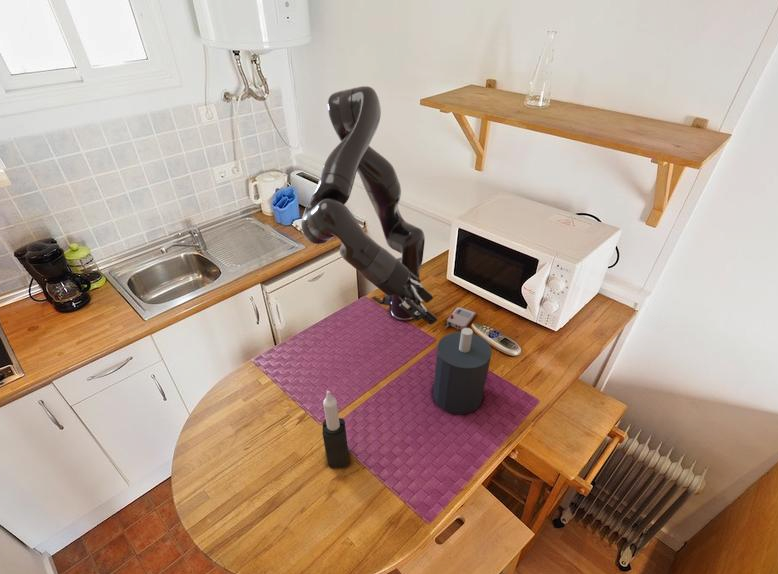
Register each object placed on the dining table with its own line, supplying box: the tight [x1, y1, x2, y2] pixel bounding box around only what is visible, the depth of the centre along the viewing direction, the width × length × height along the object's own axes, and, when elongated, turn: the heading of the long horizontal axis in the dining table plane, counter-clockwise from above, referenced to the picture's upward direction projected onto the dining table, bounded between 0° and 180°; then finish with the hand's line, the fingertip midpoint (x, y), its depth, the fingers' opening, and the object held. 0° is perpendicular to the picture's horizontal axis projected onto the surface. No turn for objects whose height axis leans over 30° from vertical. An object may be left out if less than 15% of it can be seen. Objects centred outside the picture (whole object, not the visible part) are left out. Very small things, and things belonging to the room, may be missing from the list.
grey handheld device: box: [444, 306, 477, 331], centre depth 146 cm, size 7×16×3 cm, turn 148°
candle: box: [321, 390, 350, 469], centre depth 98 cm, size 5×5×25 cm
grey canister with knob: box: [432, 327, 492, 415], centre depth 114 cm, size 14×14×24 cm
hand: (432, 310), depth 101 cm, fingers open, 8 cm apart
